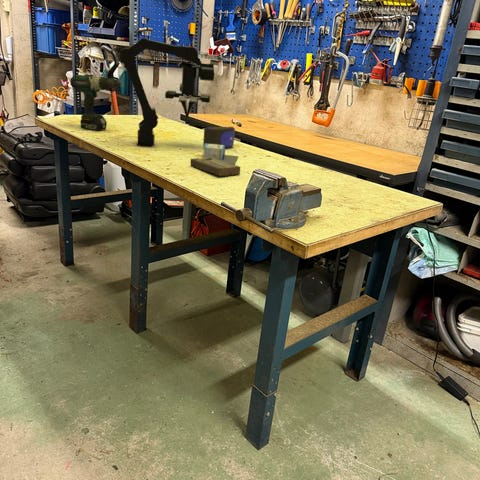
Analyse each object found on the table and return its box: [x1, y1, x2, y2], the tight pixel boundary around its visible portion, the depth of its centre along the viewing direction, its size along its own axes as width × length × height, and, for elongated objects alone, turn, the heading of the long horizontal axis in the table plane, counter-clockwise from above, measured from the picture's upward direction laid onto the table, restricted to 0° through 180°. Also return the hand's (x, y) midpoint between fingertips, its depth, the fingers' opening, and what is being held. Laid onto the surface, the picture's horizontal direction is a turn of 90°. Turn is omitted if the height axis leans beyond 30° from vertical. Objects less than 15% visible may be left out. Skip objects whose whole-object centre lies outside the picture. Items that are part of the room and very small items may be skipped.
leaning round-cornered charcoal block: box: [202, 126, 236, 150], centre depth 195 cm, size 16×5×9 cm, turn 125°
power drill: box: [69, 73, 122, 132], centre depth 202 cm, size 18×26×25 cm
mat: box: [218, 154, 239, 165], centre depth 178 cm, size 13×14×1 cm
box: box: [190, 157, 241, 177], centre depth 159 cm, size 11×17×3 cm, turn 42°
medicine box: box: [202, 143, 226, 159], centre depth 178 cm, size 8×4×9 cm
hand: (187, 117), depth 186 cm, fingers closed
